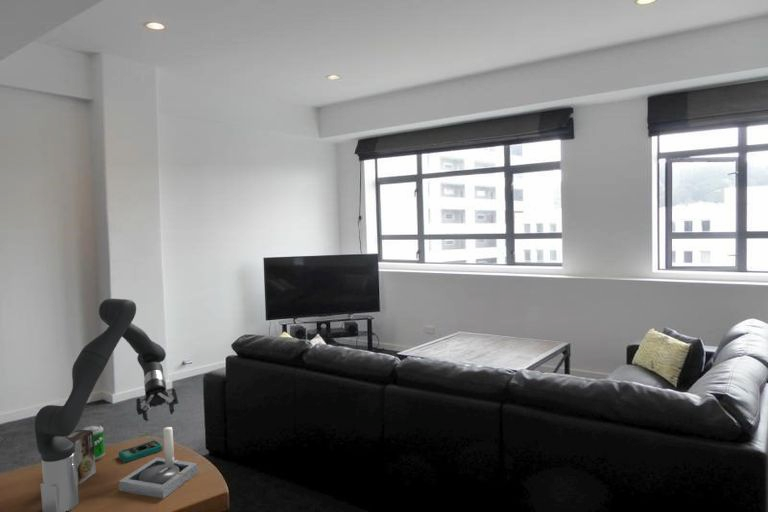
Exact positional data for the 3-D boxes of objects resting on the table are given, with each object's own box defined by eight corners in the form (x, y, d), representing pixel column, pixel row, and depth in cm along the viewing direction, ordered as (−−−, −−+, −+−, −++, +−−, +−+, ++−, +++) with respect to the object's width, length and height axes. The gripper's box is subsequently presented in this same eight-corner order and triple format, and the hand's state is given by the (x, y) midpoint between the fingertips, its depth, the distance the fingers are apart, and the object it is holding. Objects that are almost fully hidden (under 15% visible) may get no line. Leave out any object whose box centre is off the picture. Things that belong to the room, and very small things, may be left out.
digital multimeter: (164, 450, 213) (163, 443, 213) (125, 464, 202) (124, 456, 202) (156, 445, 218) (155, 438, 218) (117, 458, 208) (117, 450, 207)
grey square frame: (163, 498, 177) (162, 488, 177) (119, 490, 182) (118, 480, 182) (198, 472, 194) (197, 462, 194) (156, 466, 199) (156, 456, 199)
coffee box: (80, 471, 196) (77, 429, 195) (96, 472, 195) (93, 429, 194) (62, 484, 188) (58, 439, 186) (78, 485, 186) (75, 440, 185)
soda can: (85, 455, 210) (83, 425, 209) (106, 452, 212) (104, 422, 211) (81, 463, 202) (78, 433, 201) (103, 460, 205) (101, 430, 204)
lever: (162, 491, 180) (159, 444, 178) (130, 486, 184) (127, 440, 182) (187, 472, 193) (185, 428, 191) (158, 468, 196) (155, 424, 195)
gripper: (133, 383, 204) (135, 415, 192) (172, 372, 209) (177, 403, 197) (137, 396, 208) (140, 428, 196) (176, 386, 213) (181, 416, 201)
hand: (159, 416), depth 196 cm, fingers open, 8 cm apart
